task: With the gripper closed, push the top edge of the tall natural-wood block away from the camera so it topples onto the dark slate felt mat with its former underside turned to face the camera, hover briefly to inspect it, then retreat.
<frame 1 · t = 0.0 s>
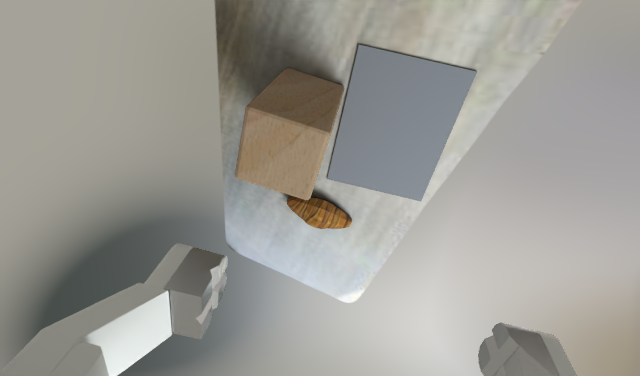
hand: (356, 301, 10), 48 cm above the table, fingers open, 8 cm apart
felt mat: (393, 130, 57), on the table
wooden block: (308, 104, 57), on the table
croissant: (320, 206, 68), on the table
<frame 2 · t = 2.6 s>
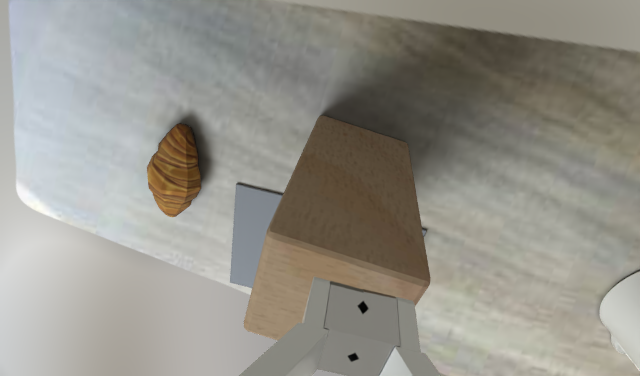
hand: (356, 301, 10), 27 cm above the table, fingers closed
felt mat: (317, 258, 47), on the table
wooden block: (349, 165, 39), on the table
croissant: (183, 168, 43), on the table
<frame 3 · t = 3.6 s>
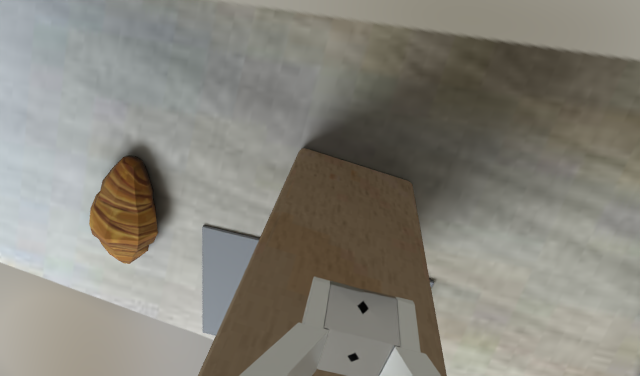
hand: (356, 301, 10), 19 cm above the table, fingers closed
felt mat: (303, 308, 39), on the table
wooden block: (340, 206, 31), on the table
croissant: (138, 206, 35), on the table
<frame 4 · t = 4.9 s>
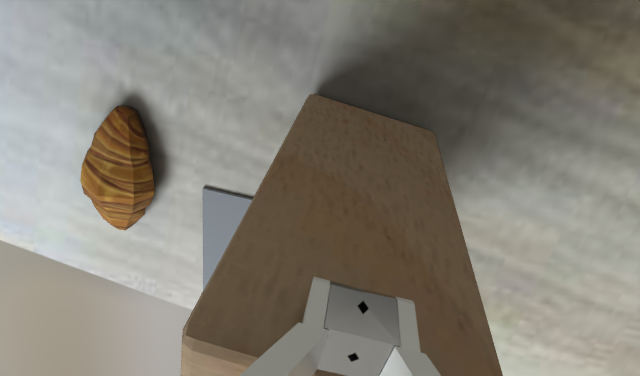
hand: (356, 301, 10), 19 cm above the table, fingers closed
felt mat: (311, 281, 36), on the table
wooden block: (352, 163, 28), on the table, touching gripper
croissant: (134, 166, 33), on the table
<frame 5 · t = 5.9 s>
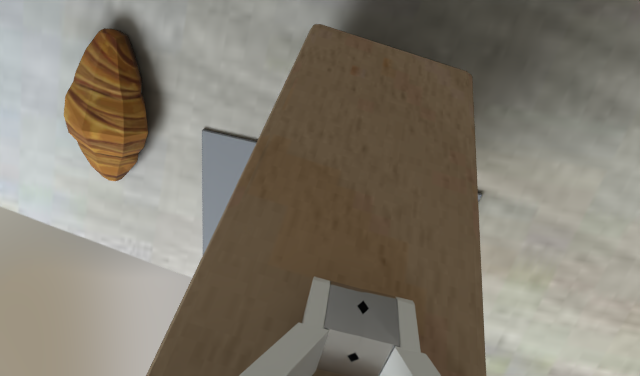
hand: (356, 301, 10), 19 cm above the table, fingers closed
felt mat: (321, 240, 33), on the table
wooden block: (369, 105, 24), point 2 cm above the table
croissant: (126, 108, 29), on the table
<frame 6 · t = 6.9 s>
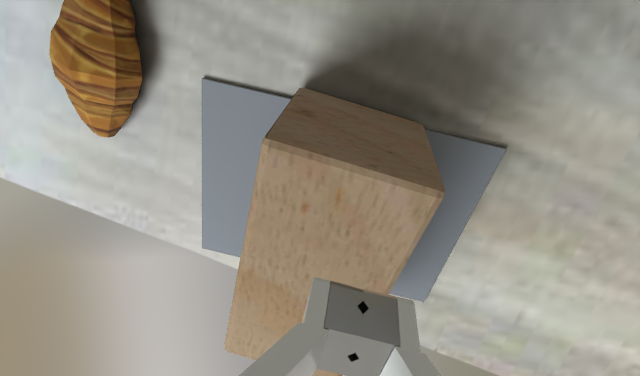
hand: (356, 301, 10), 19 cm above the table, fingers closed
felt mat: (329, 205, 31), on the table
wooden block: (361, 124, 21), point 5 cm above the table, touching felt mat
croissant: (119, 55, 27), on the table
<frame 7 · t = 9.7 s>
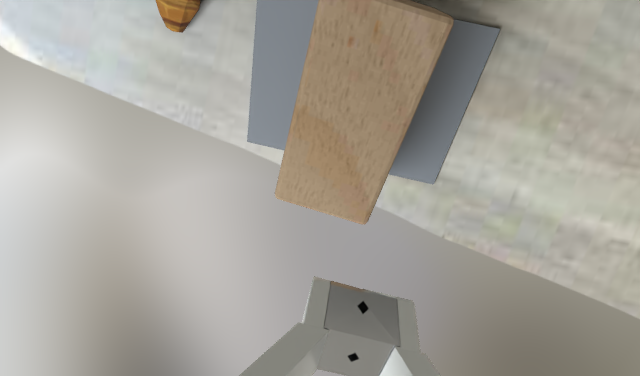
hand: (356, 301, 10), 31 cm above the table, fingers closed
felt mat: (356, 92, 38), on the table
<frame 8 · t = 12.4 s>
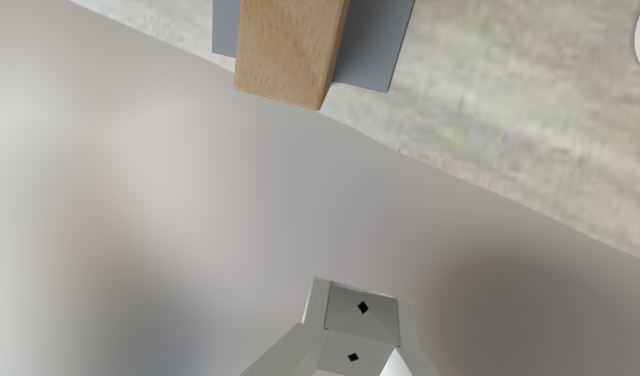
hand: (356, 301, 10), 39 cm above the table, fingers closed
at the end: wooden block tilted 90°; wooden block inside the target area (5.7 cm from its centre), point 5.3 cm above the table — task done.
